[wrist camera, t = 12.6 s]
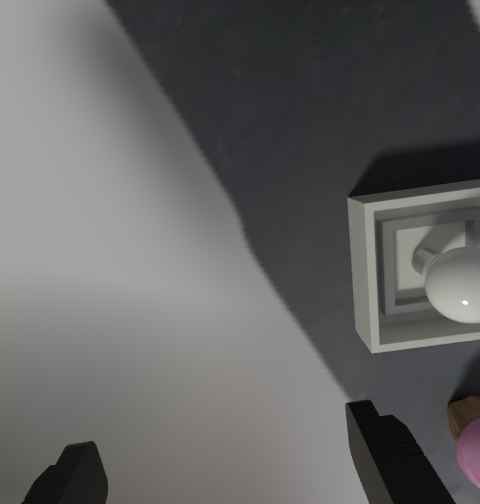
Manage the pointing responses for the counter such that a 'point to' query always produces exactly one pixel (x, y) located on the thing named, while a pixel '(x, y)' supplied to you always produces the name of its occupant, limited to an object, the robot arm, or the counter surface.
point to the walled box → (408, 262)
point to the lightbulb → (452, 281)
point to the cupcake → (467, 435)
